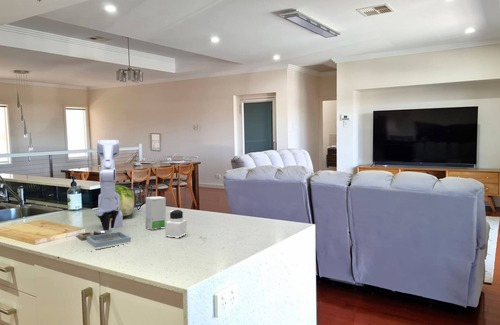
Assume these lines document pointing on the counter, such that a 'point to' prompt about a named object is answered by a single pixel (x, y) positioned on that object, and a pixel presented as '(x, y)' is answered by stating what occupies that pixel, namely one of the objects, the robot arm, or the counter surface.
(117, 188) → the lettuce
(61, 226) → the counter surface
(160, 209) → the skincare box
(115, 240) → the tray
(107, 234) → the lock pin
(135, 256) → the counter surface
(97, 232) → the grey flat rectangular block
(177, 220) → the medicine bottle
